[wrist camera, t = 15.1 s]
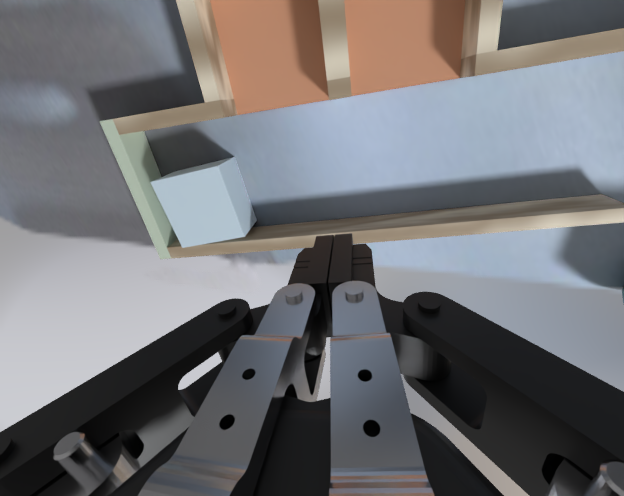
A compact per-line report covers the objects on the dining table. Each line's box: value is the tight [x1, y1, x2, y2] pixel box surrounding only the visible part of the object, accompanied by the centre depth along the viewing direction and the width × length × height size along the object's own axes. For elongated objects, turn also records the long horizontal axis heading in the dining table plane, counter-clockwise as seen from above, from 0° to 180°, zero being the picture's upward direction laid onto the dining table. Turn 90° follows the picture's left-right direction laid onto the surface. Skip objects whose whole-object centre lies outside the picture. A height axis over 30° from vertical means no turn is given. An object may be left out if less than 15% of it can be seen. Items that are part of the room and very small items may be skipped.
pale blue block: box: [150, 157, 257, 248], centre depth 34 cm, size 8×8×5 cm
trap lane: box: [100, 0, 624, 259], centre depth 28 cm, size 26×50×4 cm, turn 99°
